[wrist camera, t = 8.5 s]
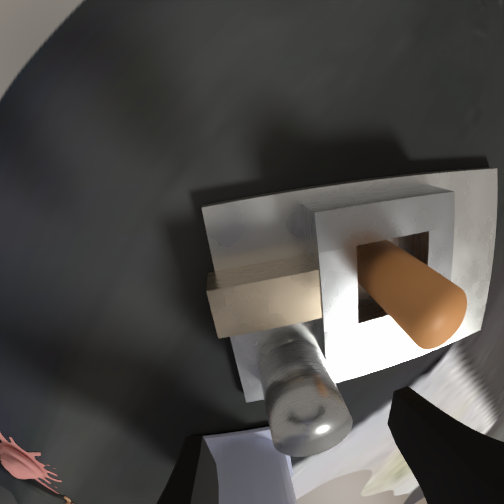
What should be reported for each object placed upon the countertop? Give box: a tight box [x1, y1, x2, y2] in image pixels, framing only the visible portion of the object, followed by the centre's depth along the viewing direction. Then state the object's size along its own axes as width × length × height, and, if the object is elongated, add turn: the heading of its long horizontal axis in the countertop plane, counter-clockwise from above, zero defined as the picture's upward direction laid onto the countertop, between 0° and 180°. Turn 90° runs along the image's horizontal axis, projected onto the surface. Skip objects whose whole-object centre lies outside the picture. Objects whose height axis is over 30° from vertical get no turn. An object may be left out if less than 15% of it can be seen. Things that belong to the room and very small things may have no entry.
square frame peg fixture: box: [206, 185, 455, 360], centre depth 17 cm, size 9×14×2 cm, turn 99°
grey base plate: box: [202, 167, 497, 457], centre depth 16 cm, size 14×21×7 cm, turn 99°
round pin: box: [357, 240, 467, 350], centre depth 15 cm, size 3×3×7 cm
